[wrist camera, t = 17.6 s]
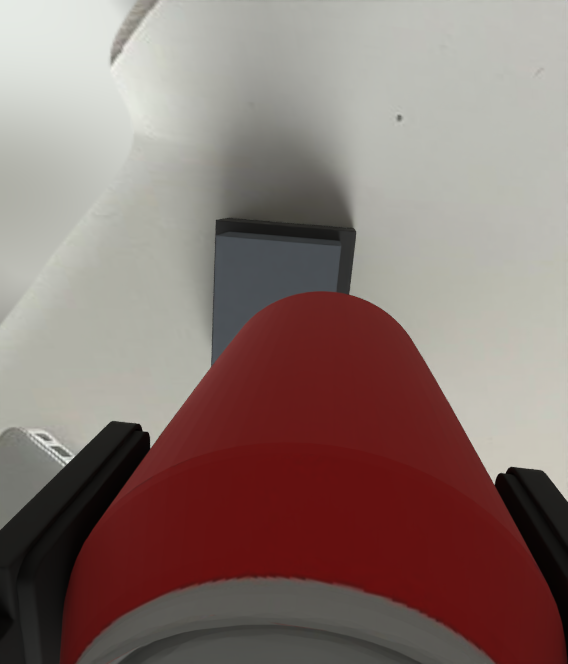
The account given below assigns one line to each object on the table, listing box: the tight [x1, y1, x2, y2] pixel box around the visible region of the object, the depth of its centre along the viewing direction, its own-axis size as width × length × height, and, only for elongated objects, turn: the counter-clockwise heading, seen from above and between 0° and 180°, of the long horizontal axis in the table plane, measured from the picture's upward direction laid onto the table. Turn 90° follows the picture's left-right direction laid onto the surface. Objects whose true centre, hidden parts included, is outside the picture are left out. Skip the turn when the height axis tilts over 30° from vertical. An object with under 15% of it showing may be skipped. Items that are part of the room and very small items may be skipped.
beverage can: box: [60, 291, 567, 664], centre depth 10 cm, size 7×7×12 cm
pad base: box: [211, 218, 356, 367], centre depth 29 cm, size 10×8×3 cm
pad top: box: [212, 232, 341, 365], centre depth 26 cm, size 9×6×3 cm
